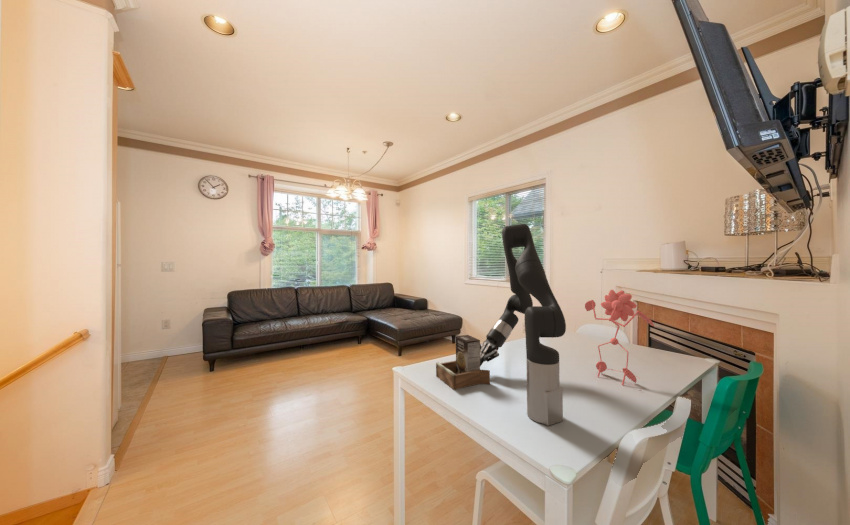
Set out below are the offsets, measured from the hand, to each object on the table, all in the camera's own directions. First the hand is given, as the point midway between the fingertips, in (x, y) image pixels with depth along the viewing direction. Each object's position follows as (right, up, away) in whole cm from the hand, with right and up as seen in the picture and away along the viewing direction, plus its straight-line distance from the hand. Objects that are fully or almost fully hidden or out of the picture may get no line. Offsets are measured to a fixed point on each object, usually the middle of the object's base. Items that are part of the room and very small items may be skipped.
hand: (475, 366), depth 121 cm
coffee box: (-3, -4, -1) cm, 6 cm away
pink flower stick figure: (+57, -3, -4) cm, 57 cm away
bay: (-6, -4, -3) cm, 8 cm away
